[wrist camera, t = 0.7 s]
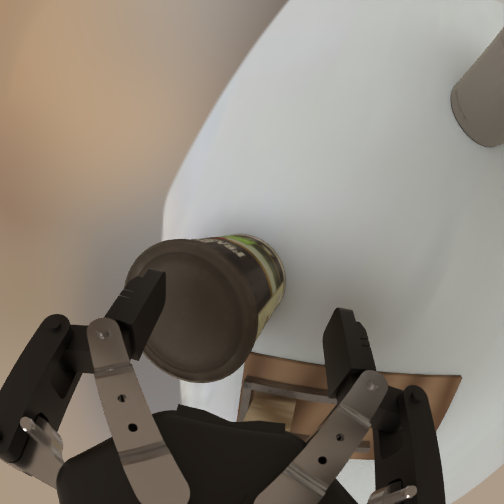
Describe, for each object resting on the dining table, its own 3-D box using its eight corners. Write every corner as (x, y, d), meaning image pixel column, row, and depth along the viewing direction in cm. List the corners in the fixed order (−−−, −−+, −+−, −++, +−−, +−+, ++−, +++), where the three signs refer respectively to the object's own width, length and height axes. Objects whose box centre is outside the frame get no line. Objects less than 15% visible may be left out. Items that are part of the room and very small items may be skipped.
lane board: (460, 375, 26) (466, 382, 24) (418, 456, 27) (421, 464, 25) (247, 351, 32) (242, 358, 30) (235, 437, 34) (231, 445, 32)
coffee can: (197, 233, 32) (118, 238, 19) (286, 234, 30) (258, 240, 16) (199, 318, 33) (130, 367, 20) (283, 327, 31) (255, 394, 17)
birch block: (296, 398, 31) (281, 467, 19) (289, 426, 31) (271, 493, 20) (257, 390, 32) (226, 454, 20) (252, 419, 32) (223, 482, 21)
